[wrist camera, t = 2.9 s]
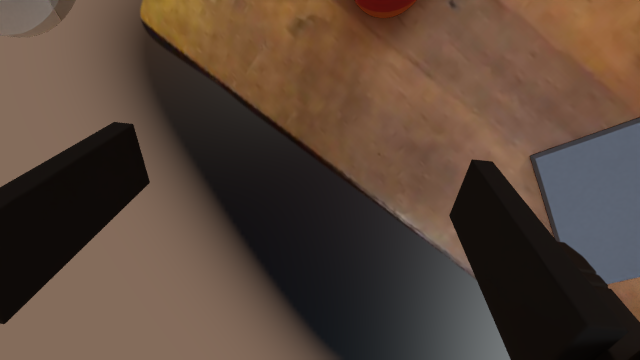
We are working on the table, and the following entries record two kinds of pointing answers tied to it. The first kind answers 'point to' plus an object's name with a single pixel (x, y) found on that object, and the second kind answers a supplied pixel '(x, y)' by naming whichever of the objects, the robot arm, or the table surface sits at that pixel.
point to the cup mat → (596, 198)
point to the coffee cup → (384, 7)
